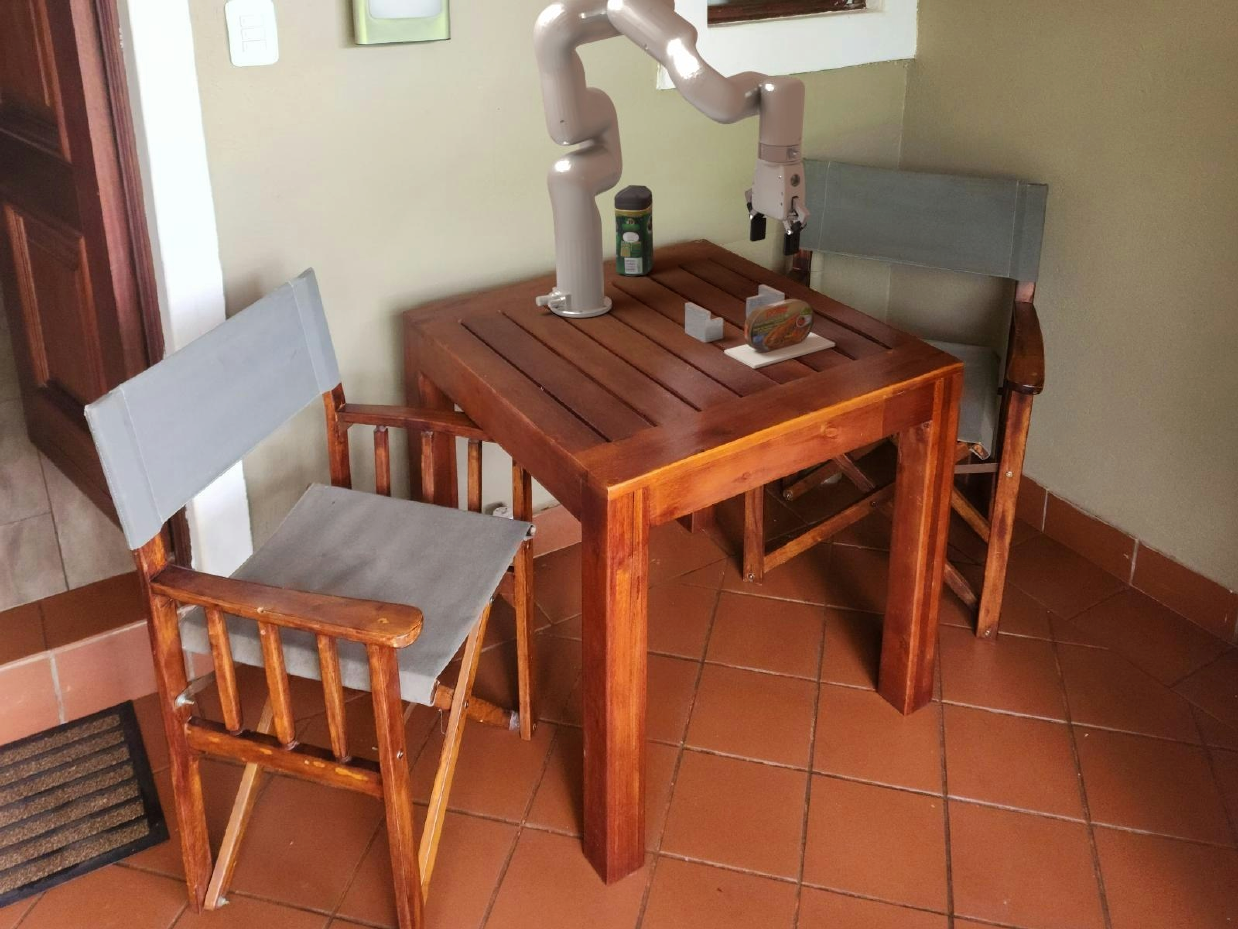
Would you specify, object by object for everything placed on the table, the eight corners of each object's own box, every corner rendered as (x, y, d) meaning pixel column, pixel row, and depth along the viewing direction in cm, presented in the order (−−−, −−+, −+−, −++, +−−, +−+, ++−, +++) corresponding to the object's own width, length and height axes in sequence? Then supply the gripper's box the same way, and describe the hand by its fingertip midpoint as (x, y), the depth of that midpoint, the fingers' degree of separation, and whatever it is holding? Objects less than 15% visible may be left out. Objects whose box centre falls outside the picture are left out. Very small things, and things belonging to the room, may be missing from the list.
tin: (750, 357, 215) (752, 313, 211) (740, 351, 217) (741, 308, 213) (814, 339, 222) (816, 297, 218) (803, 334, 224) (805, 292, 220)
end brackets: (783, 322, 232) (784, 293, 229) (704, 342, 223) (705, 313, 220) (762, 312, 237) (763, 284, 234) (685, 332, 228) (685, 303, 225)
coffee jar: (622, 262, 267) (621, 181, 259) (656, 264, 265) (656, 183, 257) (611, 276, 259) (609, 192, 250) (646, 278, 257) (645, 194, 249)
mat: (754, 368, 211) (754, 365, 211) (724, 353, 218) (724, 350, 218) (834, 346, 220) (834, 343, 220) (803, 331, 227) (803, 328, 227)
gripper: (828, 159, 200) (820, 256, 208) (766, 139, 213) (761, 231, 221) (793, 165, 197) (787, 263, 205) (732, 145, 210) (729, 238, 218)
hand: (773, 247), depth 213 cm, fingers open, 9 cm apart
